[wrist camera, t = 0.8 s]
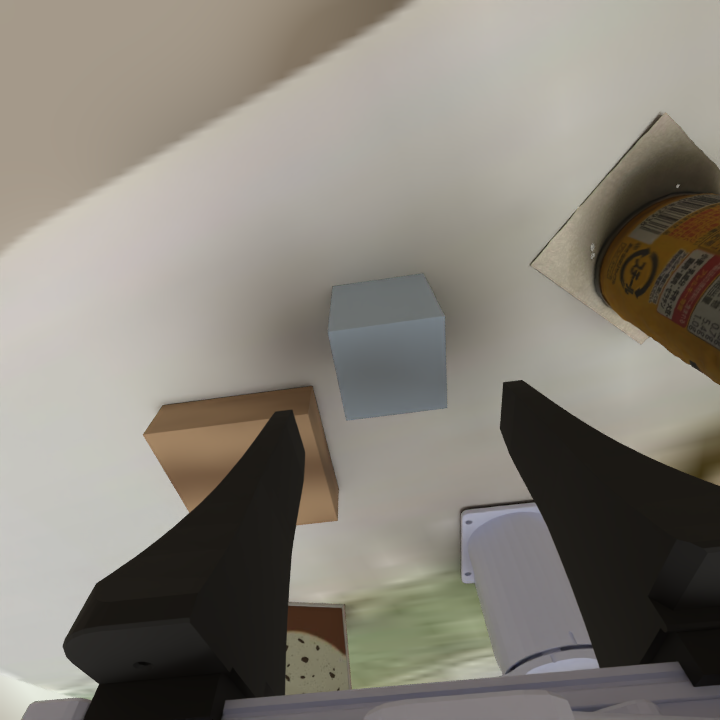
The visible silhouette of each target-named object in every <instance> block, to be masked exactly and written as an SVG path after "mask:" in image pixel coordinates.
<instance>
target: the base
mask: <svg viewBox="0 0 720 720" xmlns="http://www.w3.org/2000/svg"><path fill="white" fill-rule="evenodd" d="M291 409H292V410H293V413H294V416H295V420H296V423H297V426H298V430H299V433H300V436H301V439H302V443H303V446H304V449H305V472H304V483H303V489H302V495H301V500H300V506H299V512H298V517H297V523H296V525H303V524H312V523H321V522H330V521H338V494H339V489H338V485H337V481H336V477H335V473H334V469H333V465H332V461H331V457H330V454H329V450H328V446H327V442H326V438H325V434H324V430H323V426H322V422H321V419H320V415H319V411H318V407H317V403H316V399H315V395H314V391H313V387H312V386H309V387H301V388H293V389H285V390H278V391H270V392H262V393H255V394H247V395H239V396H232V397H224V398H216V399H209V400H201V401H193V402H186V403H178V404H170V405H163V406H162V407H161V409H160V410H159V412H158V413H157V415H156V416H155V418H154V419H153V421H152V422H151V424H150V425H149V426H148V428H147V429H146V431H145V432H144V434H143V436H144V437H145V439H146V441H147V442H148V444H149V446H150V447H151V449H152V451H153V452H154V454H155V456H156V457H157V459H158V461H159V462H160V464H161V466H162V467H163V469H164V471H165V472H166V474H167V476H168V477H169V479H170V481H171V483H172V484H173V486H174V488H175V489H176V491H177V493H178V494H179V496H180V498H181V499H182V501H183V503H184V504H185V506H186V508H187V509H188V511H189V513H190V512H191V511H192V510H193V509H194V508H195V507H197V506H198V505H199V504H200V503H201V502H202V501H203V500H204V499H205V498H206V497H207V496H208V495H209V494H210V493H211V492H212V491H213V490H214V489H215V488H216V487H217V486H218V484H219V483H220V482H221V481H222V480H223V479H224V478H225V477H226V475H227V474H228V473H229V472H230V471H231V469H232V468H233V467H234V466H235V465H236V463H237V462H238V461H239V460H240V459H241V457H242V456H243V455H244V453H245V452H246V451H247V449H248V448H249V447H250V445H251V444H252V443H253V441H254V440H255V439H256V437H257V436H258V435H259V433H260V432H261V430H262V429H263V427H264V426H265V425H266V423H267V422H268V420H269V419H270V418H271V416H272V415H273V414H274V412H276V411H283V410H291Z"/></svg>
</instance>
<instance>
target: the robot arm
mask: <svg viewBox="0 0 720 720" xmlns="http://www.w3.org/2000/svg"><path fill="white" fill-rule="evenodd" d="M500 430H501V433H502V435H503V438H504V441H505V444H506V446H507V449H508V451H509V454H510V456H511V458H512V460H513V462H514V464H515V466H516V468H517V470H518V471H519V473H520V475H521V477H522V479H523V481H524V483H525V485H526V487H527V488H528V490H529V492H530V494H531V496H532V498H533V500H534V501H535V502H533V503H524V504H515V505H505V506H496V507H487V508H478V509H469V510H465V511H463V512H462V513H461V579H462V582H464V583H475V586H476V590H477V593H478V597H479V601H480V604H481V608H482V612H483V615H484V619H485V623H486V626H487V630H488V634H489V637H490V641H491V644H492V648H493V652H494V655H495V658H496V661H497V664H498V666H499V668H500V669H501V671H502V676H499V677H492V678H480V679H469V680H457V681H445V682H434V683H422V684H410V685H399V686H387V687H375V688H364V689H352V690H341V691H329V692H317V693H306V694H294V695H285V680H286V643H287V618H288V600H289V583H290V570H291V556H292V548H293V540H294V534H295V529H296V523H297V517H298V512H299V506H300V500H301V495H302V489H303V483H304V472H305V449H304V446H303V443H302V439H301V436H300V433H299V430H298V426H297V423H296V420H295V416H294V413H293V410H292V409H291V410H283V411H276V412H274V414H273V415H272V416H271V418H270V419H269V420H268V422H267V423H266V425H265V426H264V427H263V429H262V430H261V432H260V433H259V435H258V436H257V437H256V439H255V440H254V441H253V443H252V444H251V445H250V447H249V448H248V449H247V451H246V452H245V453H244V455H243V456H242V457H241V459H240V460H239V461H238V462H237V463H236V465H235V466H234V467H233V468H232V469H231V471H230V472H229V473H228V474H227V475H226V477H225V478H224V479H223V480H222V481H221V482H220V483H219V484H218V486H217V487H216V488H215V489H214V490H213V491H212V492H211V493H210V494H209V495H208V496H207V497H206V498H205V499H204V500H203V501H202V502H201V503H200V504H199V505H198V506H197V507H195V508H194V509H193V510H192V511H191V512H190V513H189V514H188V515H187V516H185V517H184V518H183V519H182V520H181V521H180V522H179V523H178V524H177V525H175V526H174V527H173V528H172V529H171V530H169V531H168V532H167V533H166V534H165V535H163V536H162V537H161V538H160V539H158V540H157V541H156V542H154V543H153V544H152V545H151V546H149V547H148V548H147V549H145V550H144V551H143V552H141V553H140V554H139V555H137V556H136V557H134V558H133V559H132V560H130V561H129V562H127V563H126V564H124V565H123V566H121V567H120V568H119V569H117V570H116V571H114V572H113V573H111V574H110V575H108V576H107V577H105V578H104V579H102V580H101V581H99V582H98V583H96V585H95V587H94V588H93V590H92V592H91V594H90V595H89V597H88V599H87V601H86V602H85V604H84V606H83V608H82V610H81V611H80V613H79V615H78V617H77V619H76V620H75V622H74V624H73V626H72V627H71V629H70V631H69V633H68V635H67V636H66V638H65V640H64V643H63V649H64V652H65V655H66V657H67V658H68V659H69V660H70V661H71V662H72V663H73V664H74V665H75V666H77V667H78V668H79V669H80V670H82V671H83V672H84V673H86V674H87V675H88V676H90V677H91V678H92V679H93V680H95V681H96V682H97V683H99V686H98V688H97V690H96V693H95V695H94V697H93V699H92V701H91V700H88V699H83V698H68V699H57V700H45V701H35V702H33V703H32V704H30V705H29V706H28V708H27V710H26V712H25V713H24V715H23V717H22V719H21V720H720V486H718V485H715V484H712V483H710V482H707V481H704V480H702V479H699V478H696V477H694V476H691V475H689V474H686V473H684V472H681V471H679V470H677V469H674V468H672V467H670V466H667V465H665V464H663V463H660V462H658V461H656V460H654V459H651V458H649V457H647V456H645V455H643V454H641V453H639V452H637V451H635V450H633V449H631V448H629V447H627V446H625V445H623V444H621V443H619V442H617V441H615V440H613V439H612V438H610V437H608V436H606V435H604V434H603V433H601V432H599V431H598V430H596V429H594V428H593V427H591V426H589V425H588V424H586V423H584V422H583V421H581V420H580V419H578V418H576V417H575V416H573V415H572V414H570V413H569V412H567V411H566V410H564V409H563V408H561V407H560V406H558V405H557V404H555V403H554V402H553V401H551V400H550V399H548V398H547V397H545V396H544V395H543V394H541V393H540V392H538V391H537V390H536V389H534V388H533V387H531V386H530V385H528V384H527V383H526V382H524V381H523V380H518V381H510V382H503V394H502V407H501V421H500Z"/></svg>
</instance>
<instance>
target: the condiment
mask: <svg viewBox="0 0 720 720" xmlns="http://www.w3.org/2000/svg"><path fill="white" fill-rule="evenodd" d="M677 184H680V186H679V188H676V185H677ZM592 243H594V246H595V248H594V251H593V252H594V253H595V257H594V258H593V259H591V254H592V253H593V252H592V251H591V250H590V246H591V244H592ZM531 266H532V267H534V268H535V269H537V270H538V271H539V272H541V273H542V274H543V275H545V276H546V277H548V278H549V279H550V280H552V281H553V282H555V283H556V284H557V285H559V286H560V287H562V288H563V289H565V290H566V291H567V292H569V293H570V294H571V295H573V296H574V297H576V298H577V299H578V300H580V301H581V302H582V303H584V304H585V305H587V306H588V307H589V308H591V309H592V310H594V311H595V312H596V313H598V314H599V315H601V316H602V317H603V318H605V319H606V320H608V321H609V322H610V323H612V324H613V325H615V326H616V327H617V328H619V329H620V330H622V331H623V332H624V333H626V334H627V335H628V336H630V337H631V338H633V339H634V340H635V341H637V342H638V343H640V344H642V343H643V342H644V341H645V340H646V339H647V338H649V337H652V338H653V339H654V340H655V341H657V342H659V343H660V344H661V345H663V346H664V347H665V348H666V349H667V350H668V351H669V352H671V353H672V354H673V355H675V356H677V357H679V358H680V359H681V360H682V361H684V362H685V363H687V364H690V365H691V366H692V367H694V368H695V369H697V370H699V371H700V372H702V373H704V374H705V375H707V376H708V377H709V378H711V379H712V380H713V381H714V382H715V383H717V384H719V385H720V170H719V168H718V167H717V165H716V164H715V163H714V162H713V161H711V160H710V159H709V158H708V157H707V156H706V155H705V154H704V153H703V151H702V150H701V149H699V148H698V147H697V146H696V145H695V144H694V142H693V141H692V140H691V139H690V138H689V137H688V136H687V134H686V133H685V132H684V131H683V130H682V128H681V127H680V126H679V125H678V124H677V123H676V122H675V121H674V120H673V119H672V118H671V117H670V116H669V115H668V114H667V113H666V112H665V113H664V114H663V115H662V116H661V117H660V119H659V120H658V121H657V122H656V123H655V124H654V125H653V126H652V127H651V129H650V130H649V131H648V132H647V133H646V134H645V135H643V136H642V137H641V138H640V139H639V141H638V142H637V143H636V144H635V146H634V147H633V148H632V149H631V150H630V151H629V152H628V153H627V154H626V155H625V156H624V158H623V159H622V160H621V161H620V162H619V164H618V165H617V166H616V167H615V168H614V169H613V170H612V171H611V172H610V173H609V174H608V175H607V176H606V178H605V179H604V180H603V181H602V182H601V183H600V185H599V186H598V187H597V188H596V189H595V190H594V192H593V193H592V194H591V195H590V196H589V197H588V199H587V200H586V201H585V202H584V203H583V204H582V205H581V206H580V207H579V208H578V209H577V210H576V211H575V213H574V215H573V216H572V217H571V219H570V220H569V221H568V222H567V224H566V225H565V226H564V227H563V228H562V229H561V230H560V231H559V232H558V233H557V234H556V235H555V237H554V238H553V239H552V240H551V241H550V242H549V244H548V245H547V247H546V248H545V249H544V250H543V251H542V253H541V254H540V255H539V256H538V257H537V258H536V260H535V261H534V262H533V263H532V264H531Z"/></svg>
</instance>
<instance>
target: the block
mask: <svg viewBox="0 0 720 720" xmlns="http://www.w3.org/2000/svg"><path fill="white" fill-rule="evenodd" d="M328 336H329V341H330V345H331V350H332V355H333V360H334V364H335V369H336V374H337V379H338V383H339V388H340V393H341V398H342V402H343V407H344V412H345V417H346V421H347V420H355V419H363V418H371V417H379V416H387V415H395V414H404V413H412V412H420V411H428V410H436V409H444V408H447V379H446V340H445V315H444V313H443V311H442V309H441V307H440V305H439V303H438V301H437V299H436V297H435V295H434V293H433V292H432V290H431V288H430V286H429V284H428V282H427V280H426V278H425V276H424V274H423V273H422V274H415V275H408V276H401V277H394V278H387V279H380V280H373V281H366V282H359V283H353V284H346V285H339V286H333V288H332V297H331V306H330V315H329V324H328Z"/></svg>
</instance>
